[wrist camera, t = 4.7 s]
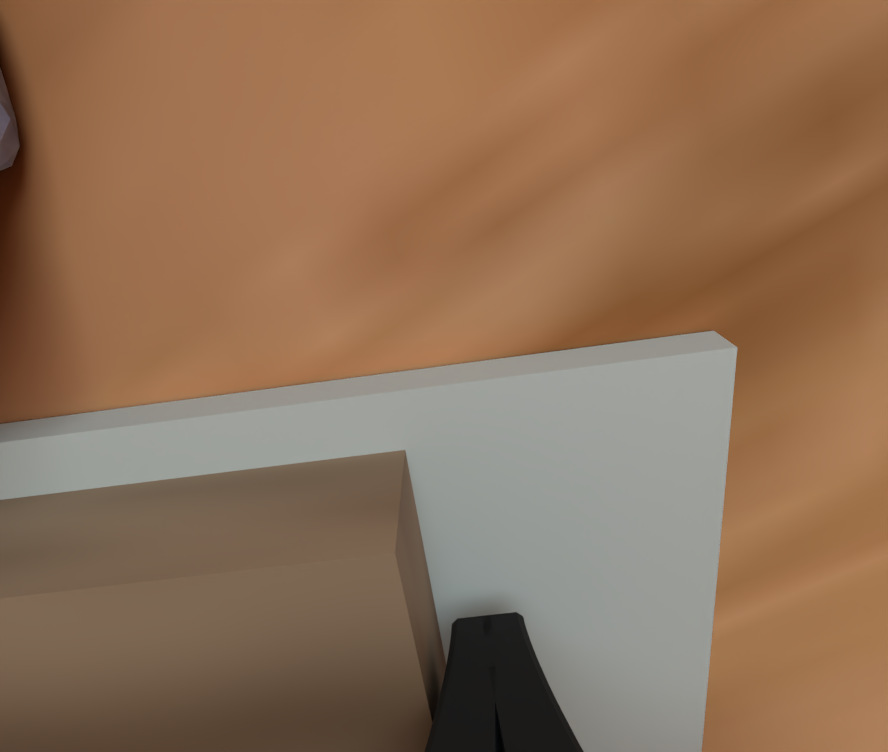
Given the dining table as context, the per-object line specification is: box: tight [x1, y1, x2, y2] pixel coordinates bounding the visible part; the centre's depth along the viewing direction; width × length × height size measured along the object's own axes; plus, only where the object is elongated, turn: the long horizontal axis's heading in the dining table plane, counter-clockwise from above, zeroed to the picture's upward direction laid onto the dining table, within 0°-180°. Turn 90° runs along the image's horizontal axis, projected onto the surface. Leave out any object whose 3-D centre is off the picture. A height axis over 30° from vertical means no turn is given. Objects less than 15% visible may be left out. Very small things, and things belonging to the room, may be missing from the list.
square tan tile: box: [0, 450, 446, 752], centre depth 10 cm, size 8×8×2 cm
